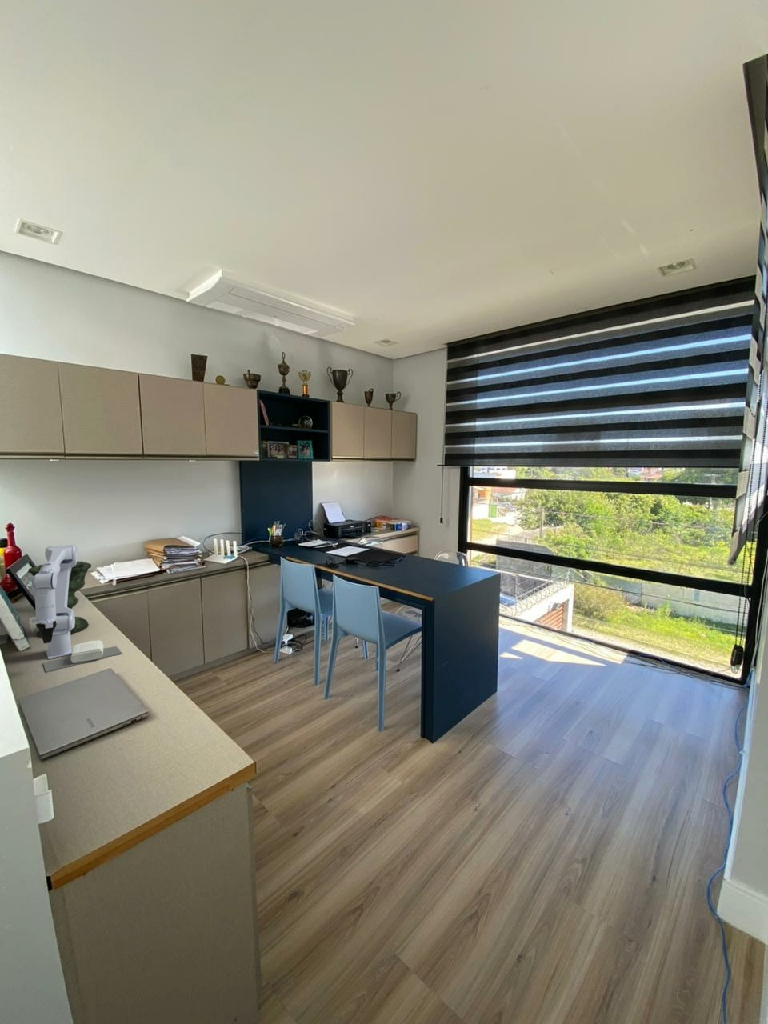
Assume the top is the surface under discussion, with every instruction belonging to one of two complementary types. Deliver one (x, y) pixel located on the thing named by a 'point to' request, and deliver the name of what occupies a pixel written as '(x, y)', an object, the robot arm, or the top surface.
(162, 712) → the top surface
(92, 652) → the photo printer
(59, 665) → the mat
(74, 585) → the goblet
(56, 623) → the robot arm
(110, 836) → the top surface
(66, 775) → the top surface
